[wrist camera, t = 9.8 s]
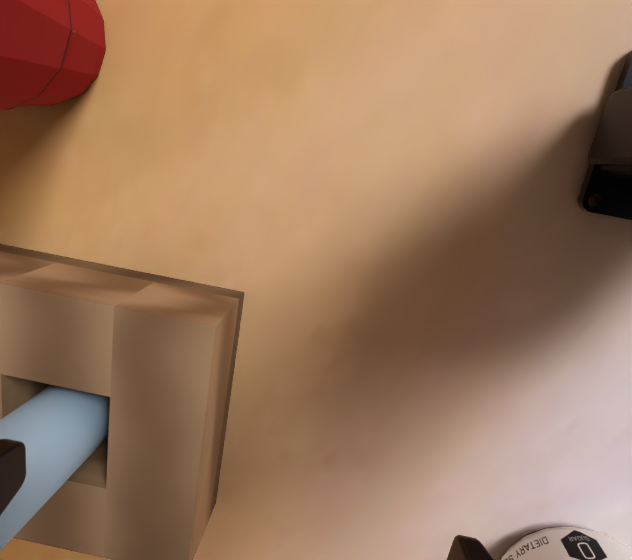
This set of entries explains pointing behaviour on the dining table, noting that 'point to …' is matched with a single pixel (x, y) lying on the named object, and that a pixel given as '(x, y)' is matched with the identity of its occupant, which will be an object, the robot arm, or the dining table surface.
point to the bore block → (124, 397)
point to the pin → (51, 446)
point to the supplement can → (568, 546)
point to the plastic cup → (48, 50)
